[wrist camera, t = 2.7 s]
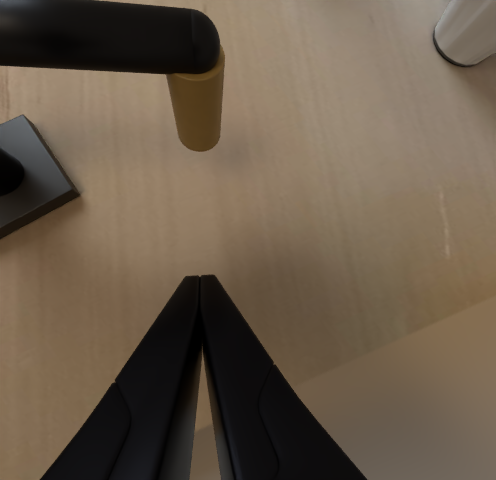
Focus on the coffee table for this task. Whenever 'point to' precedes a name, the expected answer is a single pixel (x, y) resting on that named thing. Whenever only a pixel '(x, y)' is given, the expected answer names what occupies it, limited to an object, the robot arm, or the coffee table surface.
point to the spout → (125, 51)
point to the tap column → (28, 176)
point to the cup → (467, 31)
